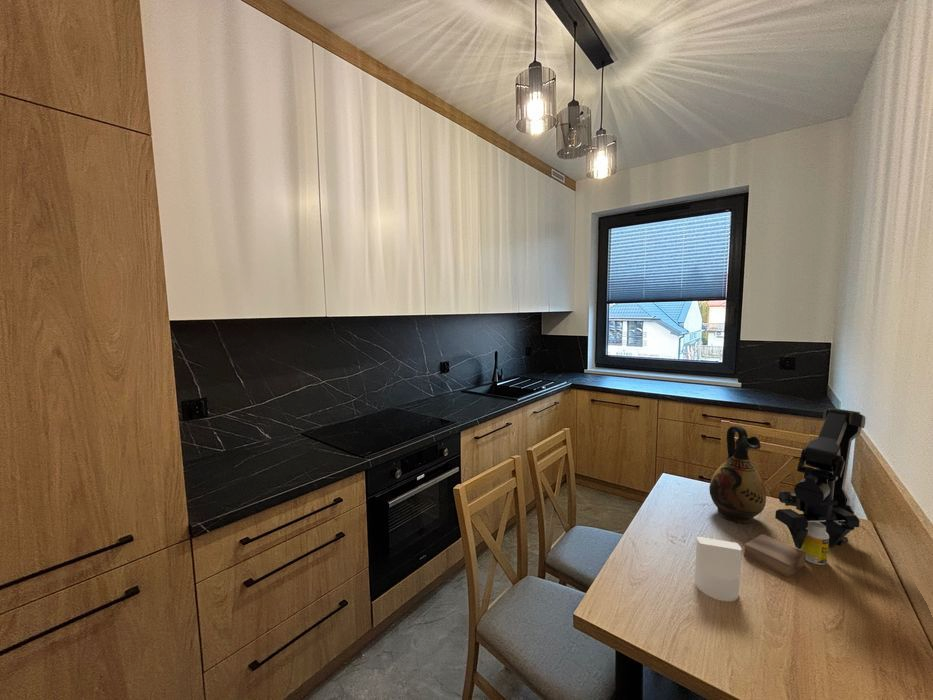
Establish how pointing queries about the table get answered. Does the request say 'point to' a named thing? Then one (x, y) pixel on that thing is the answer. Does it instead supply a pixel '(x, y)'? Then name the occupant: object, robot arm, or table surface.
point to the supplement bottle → (816, 543)
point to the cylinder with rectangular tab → (718, 568)
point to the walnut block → (775, 555)
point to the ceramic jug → (738, 480)
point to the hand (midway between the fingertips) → (814, 547)
